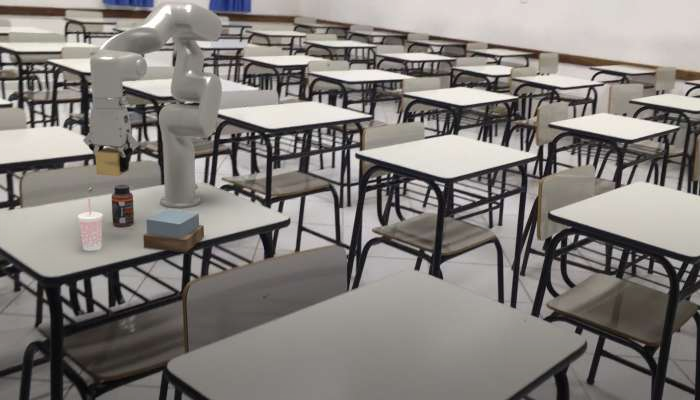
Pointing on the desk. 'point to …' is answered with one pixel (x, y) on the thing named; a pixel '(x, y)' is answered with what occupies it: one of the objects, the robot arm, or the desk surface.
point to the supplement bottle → (122, 206)
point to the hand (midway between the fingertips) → (112, 169)
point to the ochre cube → (108, 162)
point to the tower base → (174, 241)
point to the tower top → (172, 223)
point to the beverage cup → (91, 229)
